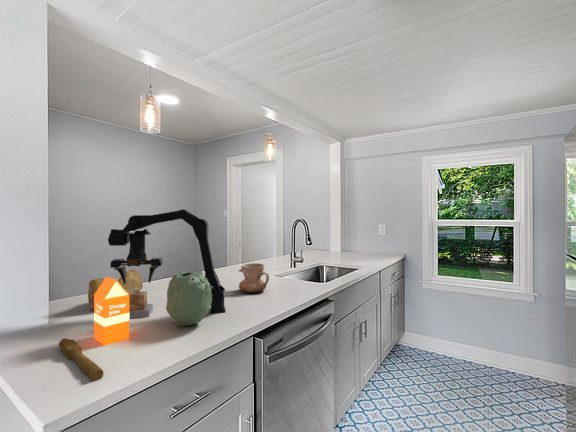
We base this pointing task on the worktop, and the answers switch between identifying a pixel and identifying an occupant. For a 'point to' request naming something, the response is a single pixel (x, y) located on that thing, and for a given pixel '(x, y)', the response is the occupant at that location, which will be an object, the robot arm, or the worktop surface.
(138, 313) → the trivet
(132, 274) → the rough brown rock
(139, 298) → the cube
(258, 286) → the ceramic jug
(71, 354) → the tap handle
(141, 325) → the worktop surface
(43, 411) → the worktop surface
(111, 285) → the orange juice
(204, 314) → the green bumpy vase
